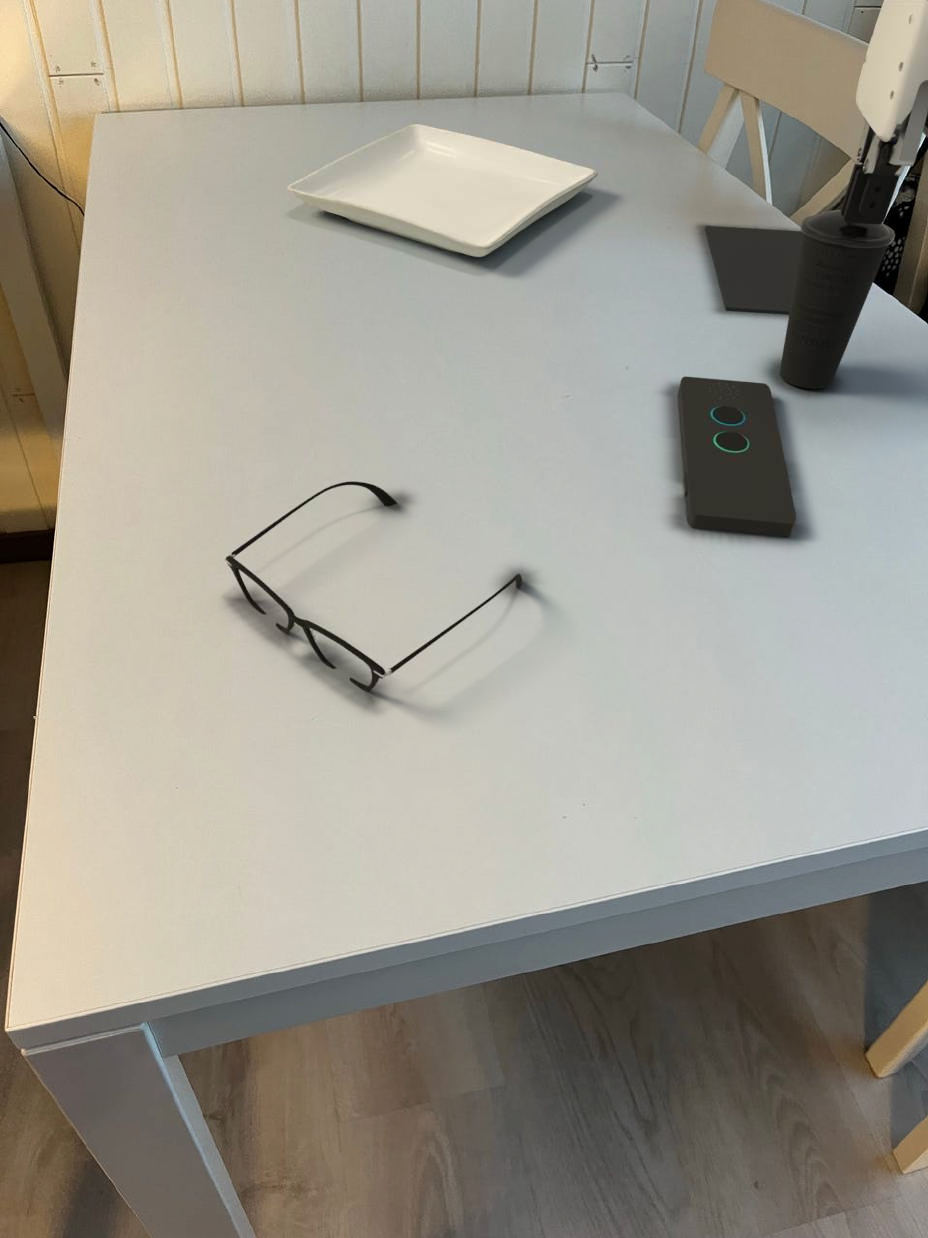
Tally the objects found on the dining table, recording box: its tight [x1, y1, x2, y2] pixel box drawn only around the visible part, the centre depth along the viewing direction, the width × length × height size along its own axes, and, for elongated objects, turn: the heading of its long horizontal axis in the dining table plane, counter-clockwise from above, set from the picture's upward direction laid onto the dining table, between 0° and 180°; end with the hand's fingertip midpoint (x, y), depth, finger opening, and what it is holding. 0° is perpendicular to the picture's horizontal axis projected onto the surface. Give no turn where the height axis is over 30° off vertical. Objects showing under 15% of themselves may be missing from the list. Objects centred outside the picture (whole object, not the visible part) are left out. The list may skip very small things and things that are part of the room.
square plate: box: [286, 123, 599, 258], centre depth 114 cm, size 27×27×4 cm
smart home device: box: [677, 376, 797, 539], centre depth 80 cm, size 8×2×20 cm
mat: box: [704, 225, 803, 316], centre depth 105 cm, size 20×12×1 cm, turn 176°
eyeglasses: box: [224, 480, 523, 692], centre depth 66 cm, size 16×16×4 cm
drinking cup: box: [779, 209, 896, 390], centre depth 83 cm, size 8×8×20 cm
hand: (861, 218), depth 78 cm, fingers closed
